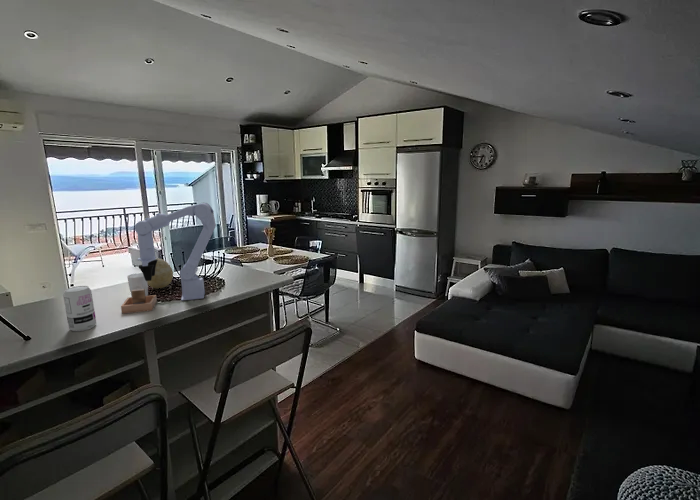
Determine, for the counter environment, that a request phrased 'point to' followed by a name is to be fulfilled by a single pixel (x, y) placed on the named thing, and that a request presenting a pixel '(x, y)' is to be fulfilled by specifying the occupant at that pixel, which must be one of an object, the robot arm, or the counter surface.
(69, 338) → the counter surface
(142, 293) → the tall brown plank
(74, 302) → the supplement can
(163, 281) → the fossilized egg
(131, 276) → the white cup
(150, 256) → the robot arm
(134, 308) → the shallow square frame box
